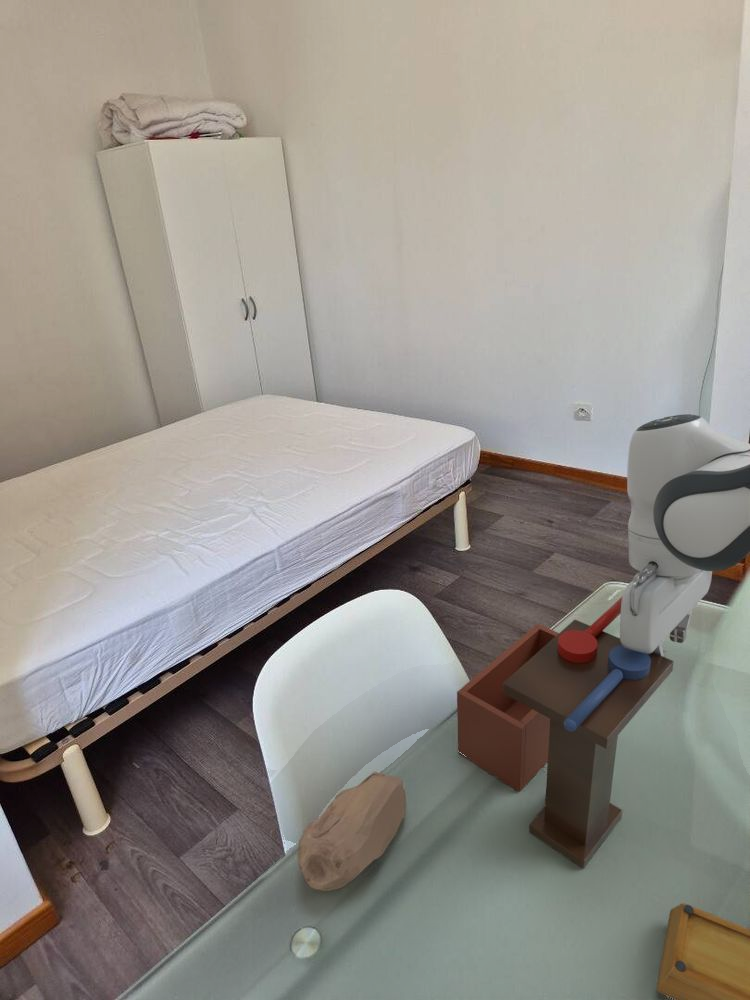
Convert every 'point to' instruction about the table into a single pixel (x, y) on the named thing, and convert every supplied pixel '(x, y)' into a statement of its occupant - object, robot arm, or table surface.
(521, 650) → the bin
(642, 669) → the blue spoon
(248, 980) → the table surface
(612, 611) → the red spoon
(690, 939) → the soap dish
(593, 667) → the shelf stand
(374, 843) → the rock
